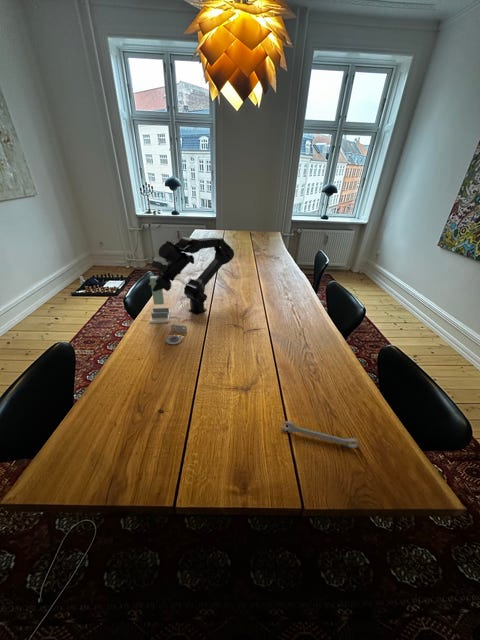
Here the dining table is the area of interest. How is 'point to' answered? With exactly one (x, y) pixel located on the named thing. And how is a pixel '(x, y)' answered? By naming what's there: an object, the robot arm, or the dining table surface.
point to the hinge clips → (160, 315)
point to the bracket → (177, 339)
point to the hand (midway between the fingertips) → (153, 289)
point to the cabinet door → (156, 292)
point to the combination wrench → (319, 434)
